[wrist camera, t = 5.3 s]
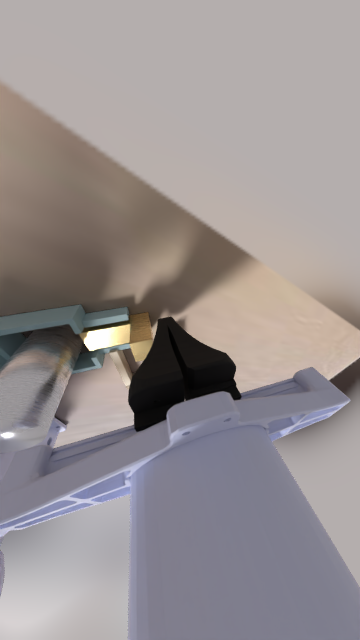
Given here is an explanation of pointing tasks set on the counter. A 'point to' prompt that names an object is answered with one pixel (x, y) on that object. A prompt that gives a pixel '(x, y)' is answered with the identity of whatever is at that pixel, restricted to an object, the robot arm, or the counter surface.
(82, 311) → the socket
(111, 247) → the counter surface
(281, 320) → the counter surface
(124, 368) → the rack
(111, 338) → the tan wooden stepped block
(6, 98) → the counter surface
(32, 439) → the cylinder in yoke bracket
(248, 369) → the counter surface
